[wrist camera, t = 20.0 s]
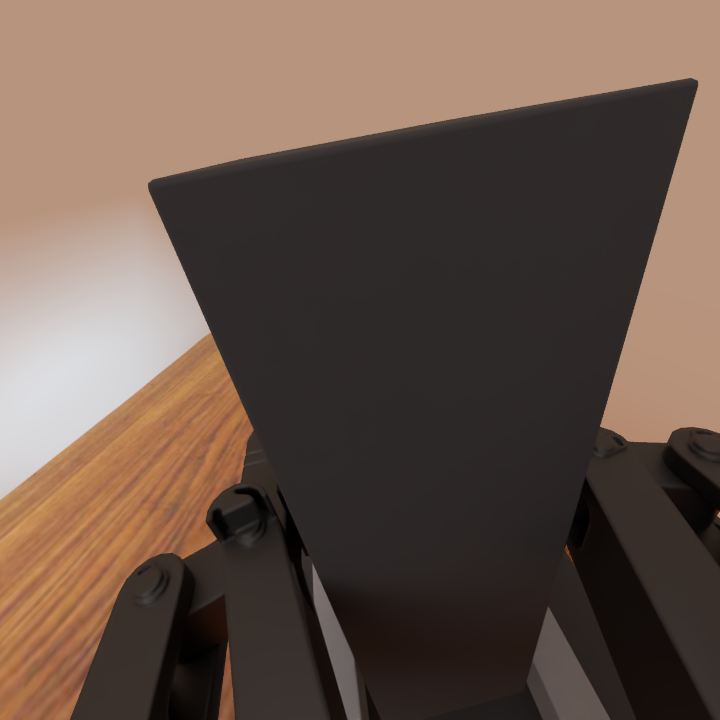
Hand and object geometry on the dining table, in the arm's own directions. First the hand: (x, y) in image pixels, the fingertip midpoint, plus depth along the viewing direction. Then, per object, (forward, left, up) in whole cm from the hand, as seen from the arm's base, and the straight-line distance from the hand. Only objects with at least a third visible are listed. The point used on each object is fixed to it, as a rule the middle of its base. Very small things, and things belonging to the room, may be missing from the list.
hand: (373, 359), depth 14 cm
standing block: (0, +5, -10) cm, 11 cm away
